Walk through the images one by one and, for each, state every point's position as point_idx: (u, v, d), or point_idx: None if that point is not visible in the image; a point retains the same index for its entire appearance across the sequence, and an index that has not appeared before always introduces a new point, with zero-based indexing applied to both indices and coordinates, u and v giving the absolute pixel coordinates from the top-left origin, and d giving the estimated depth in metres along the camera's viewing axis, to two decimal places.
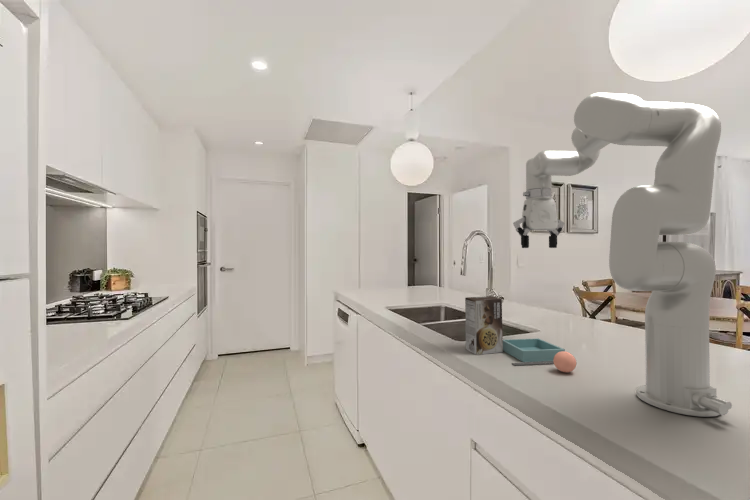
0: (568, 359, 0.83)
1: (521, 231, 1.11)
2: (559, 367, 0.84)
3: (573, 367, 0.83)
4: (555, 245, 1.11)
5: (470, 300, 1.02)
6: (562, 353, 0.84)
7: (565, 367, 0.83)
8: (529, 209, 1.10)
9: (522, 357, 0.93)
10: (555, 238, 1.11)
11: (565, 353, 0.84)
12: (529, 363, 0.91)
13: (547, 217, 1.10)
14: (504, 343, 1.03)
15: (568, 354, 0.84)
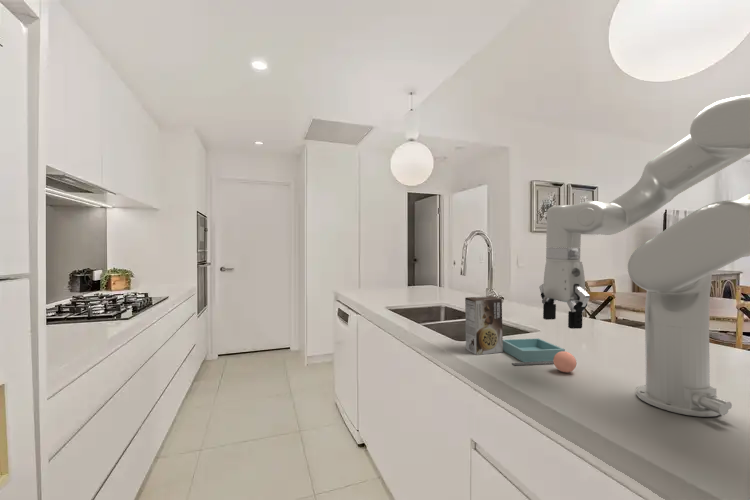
0: (568, 359, 0.83)
1: None
2: (559, 367, 0.84)
3: (573, 367, 0.83)
4: None
5: (470, 300, 1.02)
6: (562, 353, 0.84)
7: (565, 367, 0.83)
8: None
9: (522, 357, 0.93)
10: None
11: (565, 353, 0.84)
12: (529, 363, 0.91)
13: None
14: (504, 343, 1.03)
15: (568, 354, 0.84)
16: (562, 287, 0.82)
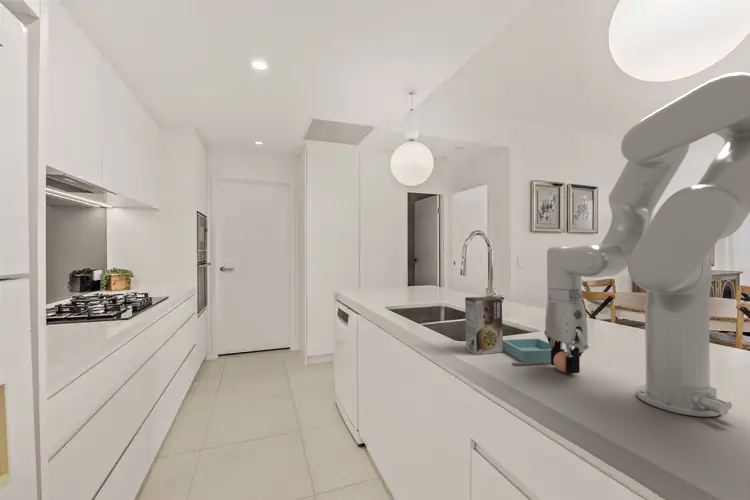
0: None
1: None
2: (559, 367, 0.84)
3: None
4: None
5: (470, 300, 1.02)
6: (562, 353, 0.84)
7: (565, 367, 0.83)
8: None
9: (522, 357, 0.93)
10: None
11: (565, 353, 0.84)
12: (529, 363, 0.91)
13: None
14: (504, 343, 1.03)
15: None
16: (564, 329, 0.82)
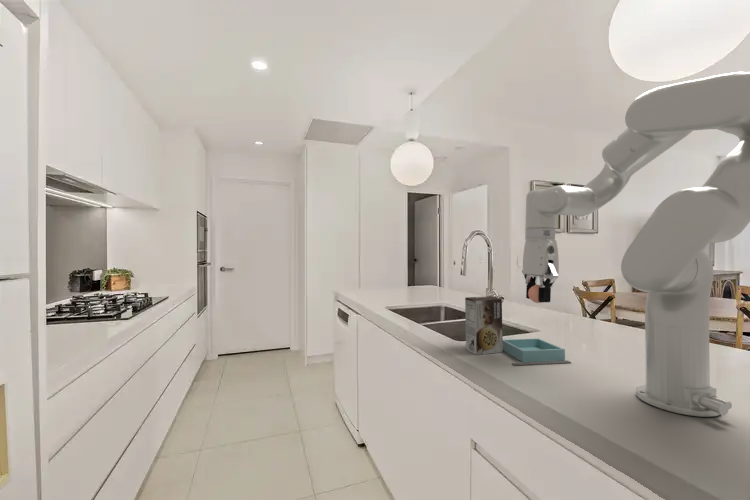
0: None
1: None
2: (533, 298, 0.94)
3: None
4: None
5: (470, 300, 1.02)
6: (536, 286, 0.95)
7: None
8: (557, 253, 0.91)
9: (522, 357, 0.93)
10: None
11: (538, 286, 0.94)
12: (529, 363, 0.91)
13: None
14: (504, 343, 1.03)
15: None
16: (538, 263, 0.92)
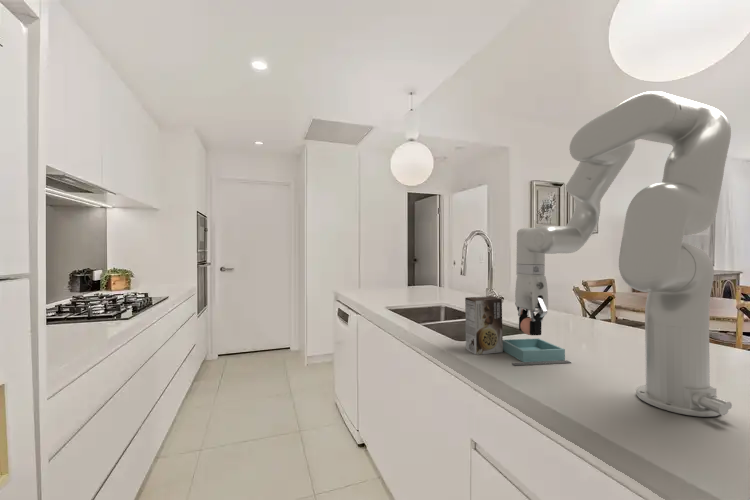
0: None
1: None
2: (524, 330, 0.99)
3: None
4: None
5: (470, 300, 1.02)
6: (527, 319, 0.99)
7: (529, 330, 0.98)
8: None
9: (522, 357, 0.93)
10: None
11: (530, 319, 0.99)
12: (529, 363, 0.91)
13: None
14: (504, 343, 1.03)
15: None
16: (529, 298, 0.96)
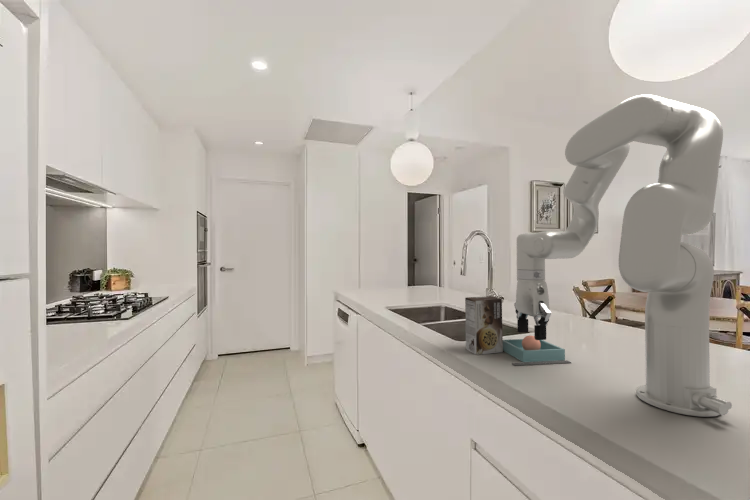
0: (534, 341, 0.97)
1: None
2: (526, 348, 0.98)
3: (537, 348, 0.97)
4: None
5: (470, 300, 1.02)
6: (529, 337, 0.99)
7: (531, 349, 0.97)
8: (547, 294, 0.95)
9: (522, 357, 0.93)
10: None
11: (531, 337, 0.99)
12: (529, 363, 0.91)
13: None
14: (504, 343, 1.03)
15: None
16: (530, 303, 0.96)
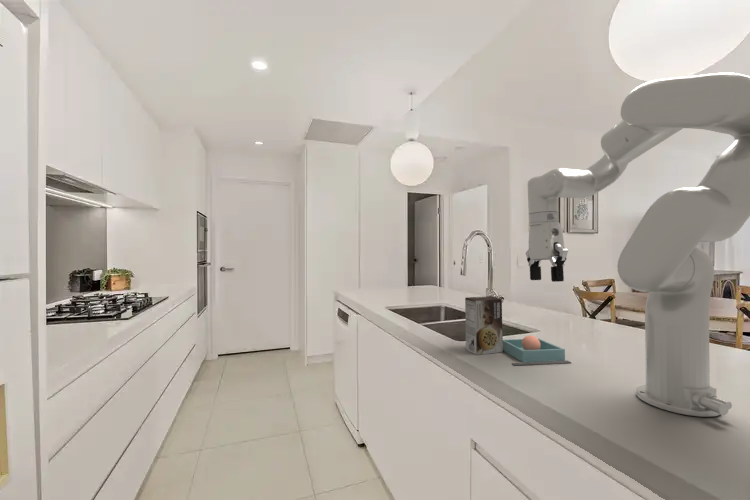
0: (533, 341, 0.97)
1: None
2: (526, 348, 0.98)
3: (537, 348, 0.97)
4: None
5: (470, 300, 1.02)
6: (528, 336, 0.99)
7: (531, 348, 0.97)
8: (562, 235, 0.92)
9: (522, 357, 0.93)
10: None
11: (531, 336, 0.99)
12: (529, 363, 0.91)
13: None
14: (504, 343, 1.03)
15: (533, 337, 0.98)
16: (544, 246, 0.93)
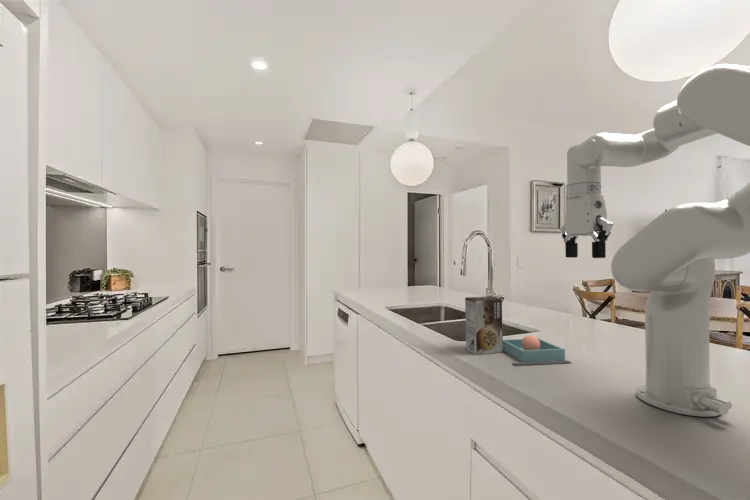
0: (533, 340, 0.98)
1: None
2: (526, 348, 0.98)
3: (537, 348, 0.97)
4: None
5: (470, 300, 1.02)
6: (528, 336, 0.99)
7: (531, 348, 0.97)
8: (605, 208, 0.85)
9: (522, 357, 0.93)
10: None
11: (530, 336, 0.99)
12: (529, 363, 0.91)
13: None
14: (504, 343, 1.03)
15: (533, 337, 0.99)
16: (585, 220, 0.86)
